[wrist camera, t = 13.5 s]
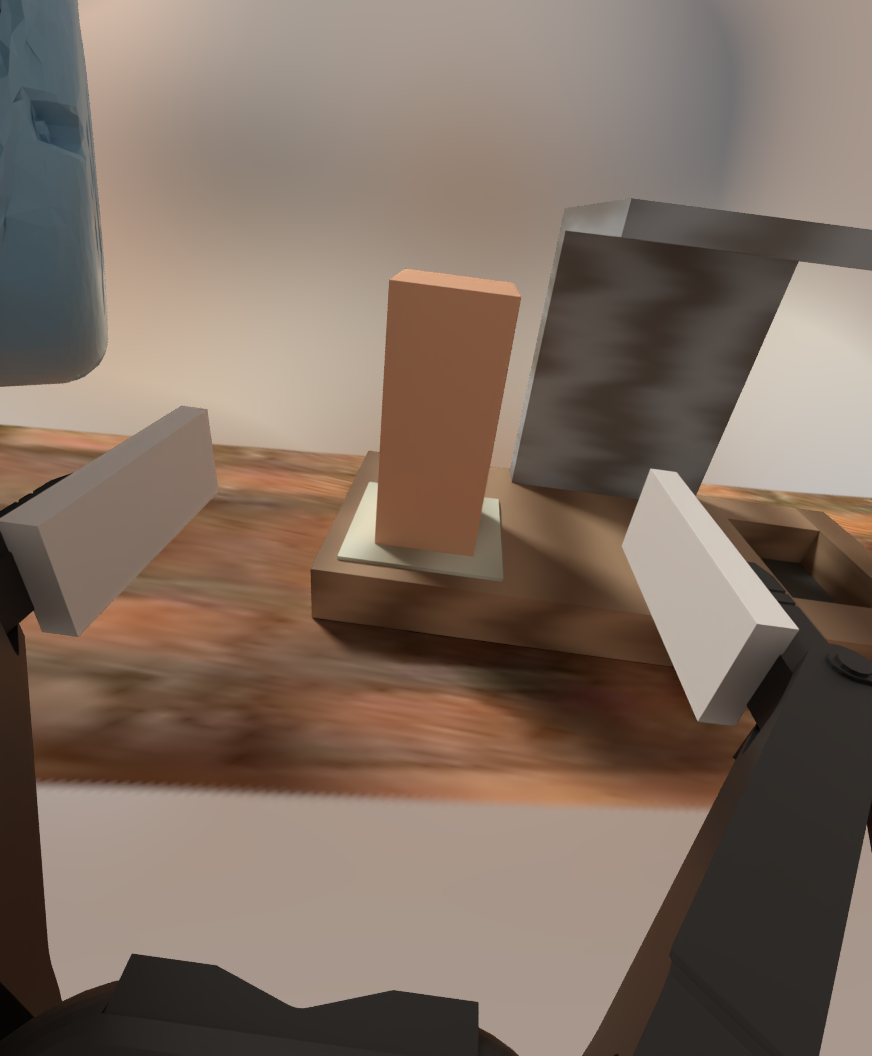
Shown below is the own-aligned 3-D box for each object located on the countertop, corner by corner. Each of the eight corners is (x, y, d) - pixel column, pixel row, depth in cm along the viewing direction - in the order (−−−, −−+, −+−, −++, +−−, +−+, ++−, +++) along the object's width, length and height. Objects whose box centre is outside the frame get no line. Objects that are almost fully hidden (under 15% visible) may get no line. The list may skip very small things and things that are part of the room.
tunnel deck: (312, 617, 25) (299, 154, 15) (366, 488, 37) (379, 184, 27) (957, 705, 25) (1373, 295, 15) (802, 547, 36) (974, 262, 27)
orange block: (374, 543, 25) (389, 279, 19) (389, 496, 29) (405, 268, 23) (473, 556, 25) (521, 296, 19) (473, 507, 29) (513, 282, 23)
